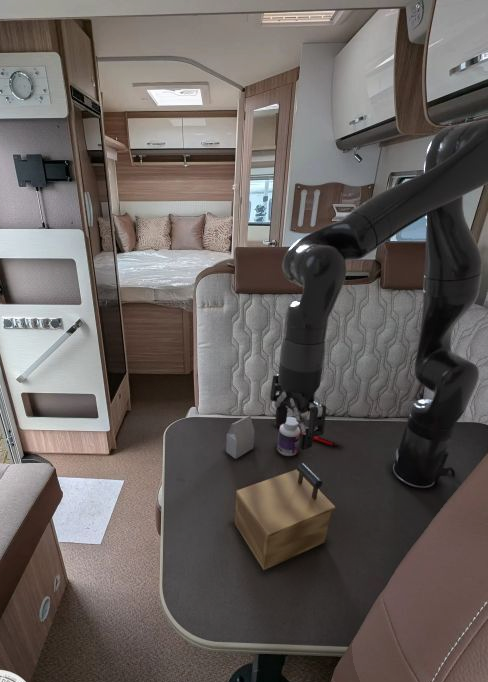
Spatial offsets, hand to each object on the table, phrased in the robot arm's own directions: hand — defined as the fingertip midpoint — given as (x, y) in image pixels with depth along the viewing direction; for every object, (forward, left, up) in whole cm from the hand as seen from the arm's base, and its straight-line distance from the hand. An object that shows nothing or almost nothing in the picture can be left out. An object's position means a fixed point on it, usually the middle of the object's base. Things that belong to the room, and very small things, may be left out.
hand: (292, 435), depth 71 cm
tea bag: (+6, -21, -21) cm, 31 cm away
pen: (-14, -26, -21) cm, 37 cm away
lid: (+2, +5, -12) cm, 13 cm away
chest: (+2, +6, -21) cm, 22 cm away
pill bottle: (-7, -20, -21) cm, 30 cm away
